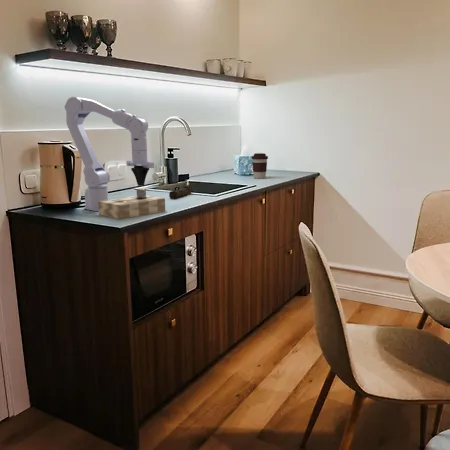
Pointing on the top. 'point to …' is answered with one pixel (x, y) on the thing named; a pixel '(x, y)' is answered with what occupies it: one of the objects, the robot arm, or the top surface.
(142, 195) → the far peg
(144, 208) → the twin-bore block
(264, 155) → the coffee cup
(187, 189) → the hand tool
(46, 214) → the top surface
